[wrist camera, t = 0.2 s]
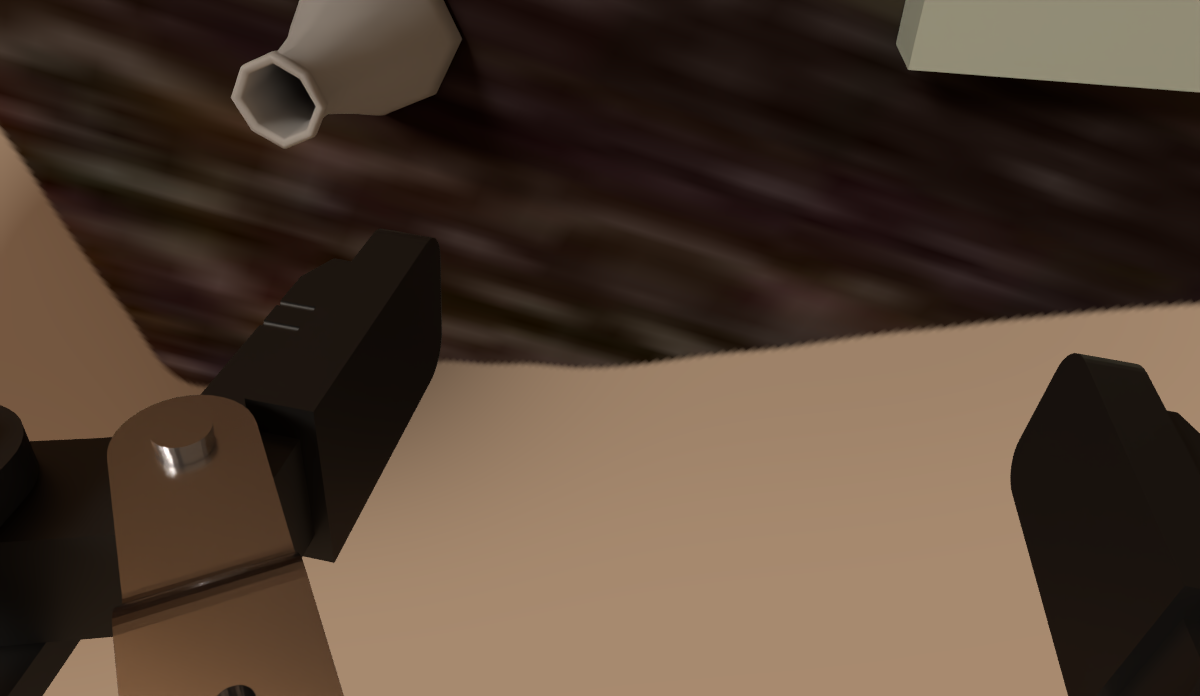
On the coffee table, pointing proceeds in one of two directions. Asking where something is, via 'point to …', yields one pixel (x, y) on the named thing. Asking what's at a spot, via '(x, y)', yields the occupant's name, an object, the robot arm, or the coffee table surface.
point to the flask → (346, 65)
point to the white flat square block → (1057, 40)
